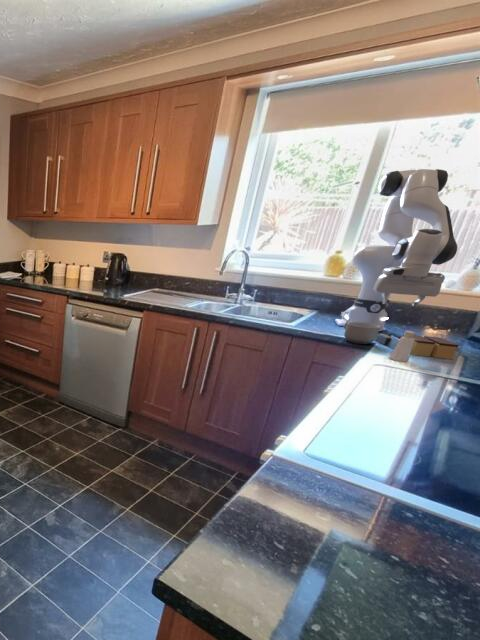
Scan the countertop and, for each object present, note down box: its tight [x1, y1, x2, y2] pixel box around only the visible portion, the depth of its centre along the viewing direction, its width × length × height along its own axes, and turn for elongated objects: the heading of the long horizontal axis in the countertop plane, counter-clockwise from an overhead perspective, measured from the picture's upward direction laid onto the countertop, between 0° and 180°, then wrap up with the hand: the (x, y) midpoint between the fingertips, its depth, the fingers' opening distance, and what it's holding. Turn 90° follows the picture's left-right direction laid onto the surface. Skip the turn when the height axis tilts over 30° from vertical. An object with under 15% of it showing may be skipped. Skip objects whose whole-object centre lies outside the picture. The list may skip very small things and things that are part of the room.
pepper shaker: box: [388, 330, 416, 363], centre depth 159 cm, size 5×5×11 cm
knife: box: [375, 333, 400, 350], centre depth 177 cm, size 22×2×4 cm, turn 157°
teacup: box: [343, 321, 381, 345], centre depth 184 cm, size 14×11×8 cm
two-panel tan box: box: [401, 333, 459, 360], centre depth 170 cm, size 12×12×6 cm
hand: (399, 305), depth 178 cm, fingers open, 8 cm apart
